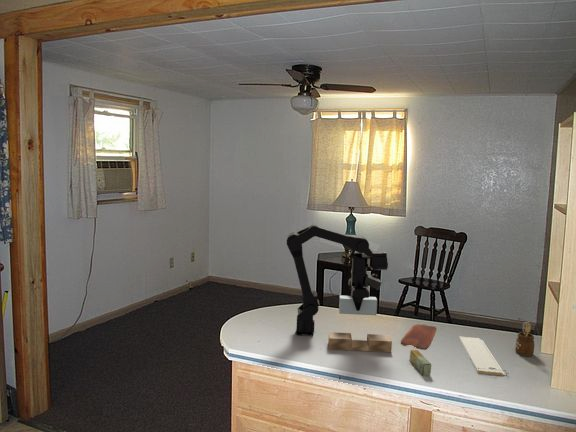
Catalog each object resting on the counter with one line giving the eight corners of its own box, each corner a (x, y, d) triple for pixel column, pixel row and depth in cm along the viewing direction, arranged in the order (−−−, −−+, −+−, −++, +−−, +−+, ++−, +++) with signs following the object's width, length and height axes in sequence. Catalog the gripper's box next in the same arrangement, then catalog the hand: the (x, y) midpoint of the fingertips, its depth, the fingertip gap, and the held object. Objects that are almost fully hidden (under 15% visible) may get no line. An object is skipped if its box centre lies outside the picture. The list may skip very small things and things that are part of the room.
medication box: (431, 376, 148) (432, 364, 148) (422, 376, 148) (423, 364, 148) (416, 360, 160) (417, 349, 160) (408, 360, 160) (409, 349, 160)
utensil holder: (532, 351, 170) (535, 319, 169) (534, 358, 164) (538, 325, 163) (514, 348, 172) (517, 317, 171) (516, 355, 166) (519, 322, 165)
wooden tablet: (426, 352, 169) (427, 347, 169) (399, 346, 173) (399, 341, 173) (439, 329, 192) (439, 325, 192) (414, 324, 197) (415, 320, 197)
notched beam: (328, 349, 167) (329, 338, 166) (328, 342, 173) (328, 332, 172) (391, 352, 166) (391, 341, 165) (388, 345, 172) (389, 335, 171)
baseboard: (486, 342, 179) (458, 340, 181) (486, 335, 179) (459, 333, 181) (510, 377, 150) (477, 374, 151) (510, 369, 150) (477, 366, 151)
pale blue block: (339, 313, 180) (340, 298, 179) (338, 310, 184) (339, 295, 183) (376, 315, 179) (377, 300, 178) (375, 312, 183) (375, 297, 182)
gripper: (384, 276, 169) (382, 317, 171) (377, 264, 188) (375, 302, 190) (353, 274, 170) (351, 316, 172) (349, 263, 189) (347, 301, 190)
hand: (357, 308), depth 181 cm, fingers closed on pale blue block, 4 cm apart
